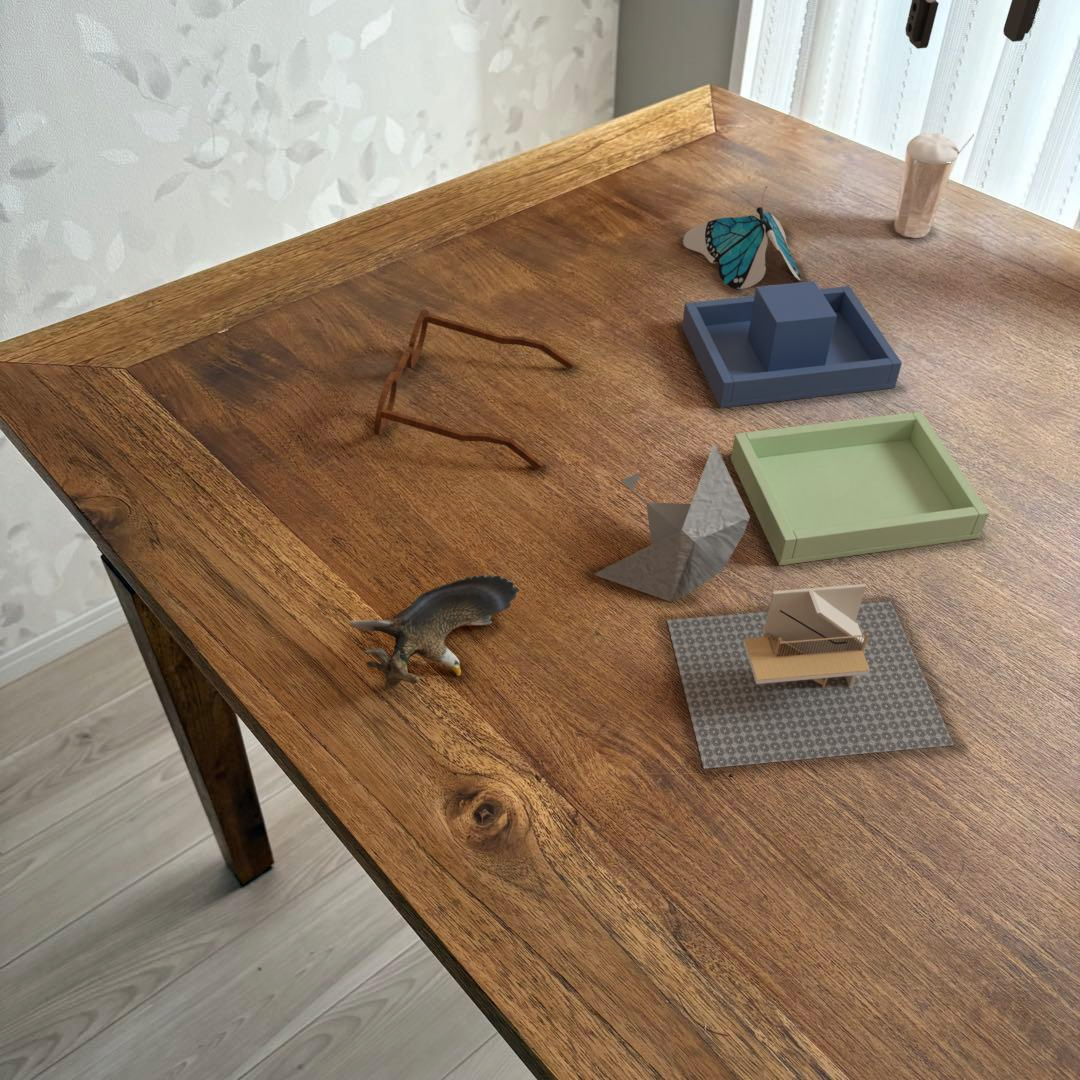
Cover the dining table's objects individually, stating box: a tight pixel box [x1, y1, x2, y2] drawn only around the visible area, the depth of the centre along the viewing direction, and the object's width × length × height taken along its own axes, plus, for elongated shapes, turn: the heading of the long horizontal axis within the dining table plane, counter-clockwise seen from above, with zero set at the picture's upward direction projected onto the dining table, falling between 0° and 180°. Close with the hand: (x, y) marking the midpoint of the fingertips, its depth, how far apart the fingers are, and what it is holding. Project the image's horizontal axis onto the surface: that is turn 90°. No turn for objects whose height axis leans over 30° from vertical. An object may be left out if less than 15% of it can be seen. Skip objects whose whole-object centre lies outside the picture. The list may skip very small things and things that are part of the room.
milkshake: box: [893, 133, 975, 239], centre depth 102 cm, size 4×5×10 cm
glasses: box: [373, 308, 575, 470], centre depth 85 cm, size 13×13×5 cm
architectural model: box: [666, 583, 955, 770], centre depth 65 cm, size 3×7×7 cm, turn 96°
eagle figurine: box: [348, 574, 520, 690], centre depth 68 cm, size 8×7×9 cm
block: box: [748, 280, 837, 372], centre depth 90 cm, size 5×5×5 cm
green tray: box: [730, 411, 990, 566], centre depth 79 cm, size 15×11×2 cm
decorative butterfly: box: [682, 186, 802, 290], centre depth 100 cm, size 10×6×10 cm
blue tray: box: [681, 285, 903, 409], centre depth 91 cm, size 15×11×2 cm
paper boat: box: [592, 442, 751, 603], centre depth 74 cm, size 12×6×9 cm
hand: (965, 41), depth 93 cm, fingers open, 8 cm apart
